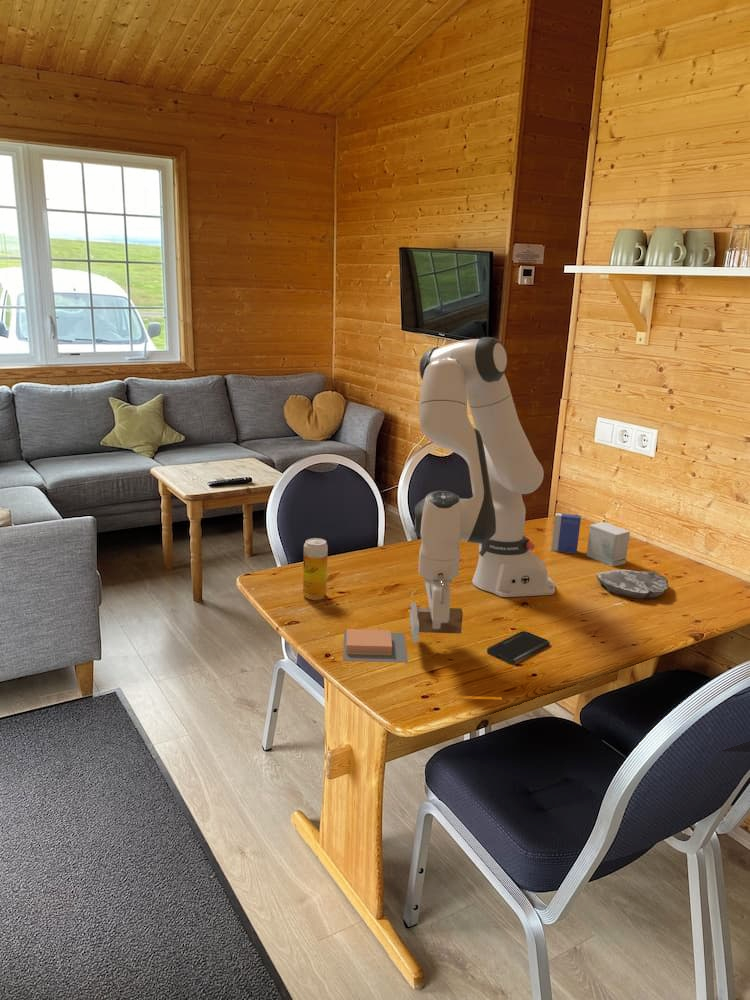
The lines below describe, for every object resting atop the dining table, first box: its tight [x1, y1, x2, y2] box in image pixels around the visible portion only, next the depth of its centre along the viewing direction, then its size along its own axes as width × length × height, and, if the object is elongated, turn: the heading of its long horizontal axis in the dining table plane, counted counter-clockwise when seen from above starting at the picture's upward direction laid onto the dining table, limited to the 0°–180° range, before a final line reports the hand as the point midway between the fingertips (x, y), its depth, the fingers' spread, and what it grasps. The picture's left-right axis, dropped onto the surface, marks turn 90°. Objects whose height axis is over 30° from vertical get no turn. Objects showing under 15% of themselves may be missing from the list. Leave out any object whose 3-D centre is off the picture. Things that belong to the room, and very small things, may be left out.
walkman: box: [550, 512, 582, 554], centre depth 238 cm, size 8×3×12 cm, turn 75°
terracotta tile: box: [346, 628, 392, 655], centre depth 171 cm, size 2×8×10 cm
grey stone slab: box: [595, 569, 669, 599], centre depth 211 cm, size 20×17×3 cm
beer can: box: [302, 537, 329, 601], centre depth 196 cm, size 6×6×15 cm
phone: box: [486, 630, 550, 665], centre depth 175 cm, size 8×1×15 cm
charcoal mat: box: [342, 630, 408, 663], centre depth 172 cm, size 14×14×1 cm
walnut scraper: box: [409, 601, 464, 643], centre depth 170 cm, size 11×12×5 cm
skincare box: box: [586, 521, 631, 568], centre depth 232 cm, size 10×6×10 cm, turn 33°
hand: (435, 623), depth 171 cm, fingers closed on walnut scraper, 2 cm apart
